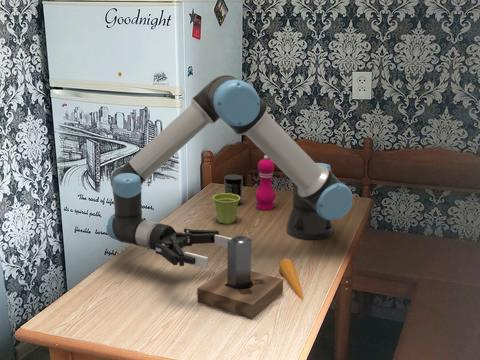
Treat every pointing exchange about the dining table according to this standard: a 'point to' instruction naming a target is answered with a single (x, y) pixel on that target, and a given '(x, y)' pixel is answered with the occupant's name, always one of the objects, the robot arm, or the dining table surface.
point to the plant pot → (226, 207)
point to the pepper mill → (265, 185)
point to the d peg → (239, 263)
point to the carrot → (291, 275)
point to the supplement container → (234, 185)
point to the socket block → (240, 294)
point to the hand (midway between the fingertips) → (222, 253)
